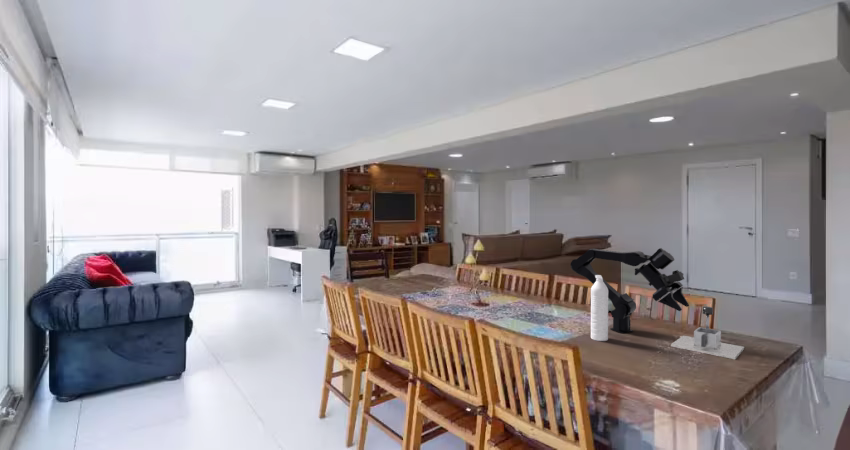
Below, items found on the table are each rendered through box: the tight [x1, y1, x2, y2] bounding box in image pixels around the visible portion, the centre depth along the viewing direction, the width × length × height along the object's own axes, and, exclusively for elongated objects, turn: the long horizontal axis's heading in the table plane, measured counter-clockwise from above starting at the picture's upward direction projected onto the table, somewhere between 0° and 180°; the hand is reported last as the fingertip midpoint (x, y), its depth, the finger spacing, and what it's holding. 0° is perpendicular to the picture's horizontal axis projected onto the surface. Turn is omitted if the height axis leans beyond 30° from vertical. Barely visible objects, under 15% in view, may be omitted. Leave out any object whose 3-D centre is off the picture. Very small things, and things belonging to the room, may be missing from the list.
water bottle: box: [590, 274, 609, 342], centre depth 173 cm, size 9×6×25 cm
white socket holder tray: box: [670, 326, 745, 360], centre depth 160 cm, size 20×15×6 cm
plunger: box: [701, 306, 714, 334], centre depth 160 cm, size 5×5×11 cm
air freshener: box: [608, 298, 615, 312], centre depth 218 cm, size 11×8×10 cm
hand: (684, 308), depth 165 cm, fingers open, 9 cm apart
